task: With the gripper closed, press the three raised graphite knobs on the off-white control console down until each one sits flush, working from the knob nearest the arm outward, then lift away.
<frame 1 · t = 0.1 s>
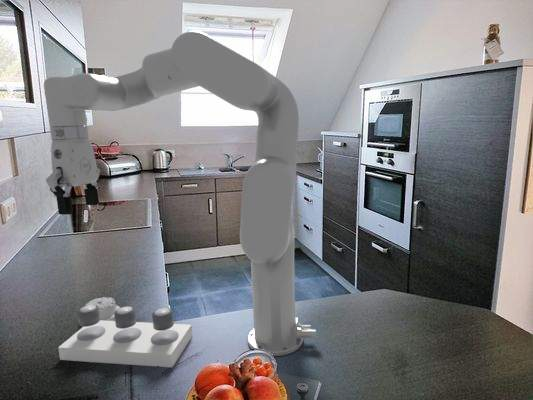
hand: (80, 209, 89), 31 cm above the countertop, tool pointing down, fingers open, 9 cm apart
console: (129, 347, 87), on the countertop
knob far: (88, 315, 88), point 8 cm above the countertop, slide at 2.5 cm
knob near: (162, 318, 85), point 8 cm above the countertop, slide at 2.5 cm
knob middle: (125, 316, 86), point 8 cm above the countertop, slide at 2.5 cm
mechanical component: (101, 318, 103), on the countertop
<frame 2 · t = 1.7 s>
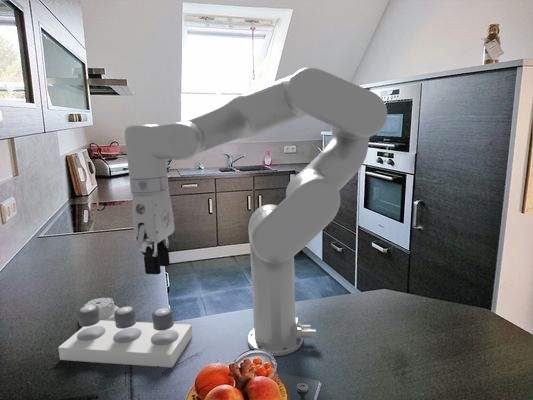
hand: (157, 268, 82), 19 cm above the countertop, tool pointing down, fingers open, 3 cm apart
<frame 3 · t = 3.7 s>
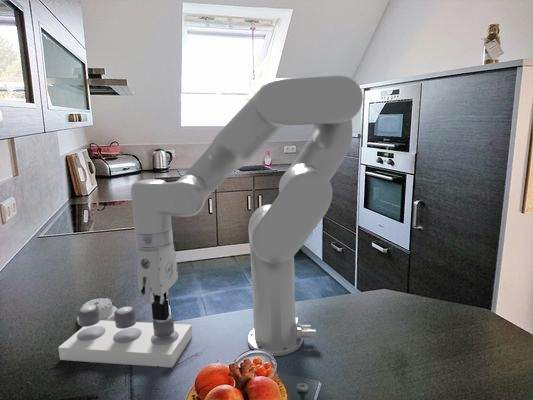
hand: (161, 317, 84), 8 cm above the countertop, tool pointing down, fingers closed
knob near: (163, 324, 85), point 6 cm above the countertop, slide at 0.9 cm, touching gripper
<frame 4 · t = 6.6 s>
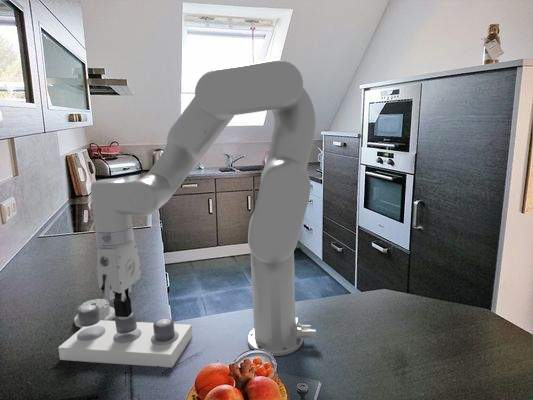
hand: (123, 314, 86), 8 cm above the countertop, tool pointing down, fingers closed
knob near: (164, 329, 85), point 5 cm above the countertop, slide at -0.1 cm
knob middle: (125, 321, 86), point 6 cm above the countertop, slide at 1.3 cm, touching gripper
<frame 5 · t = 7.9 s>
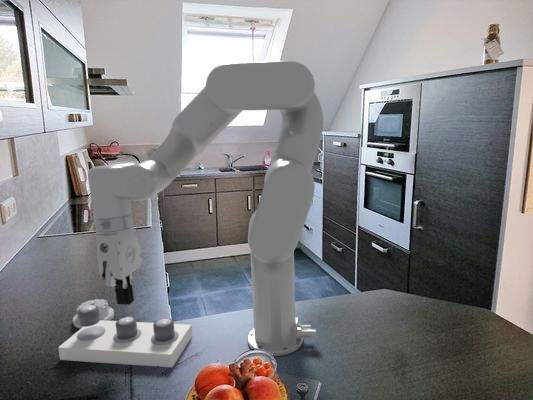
hand: (125, 302, 85), 11 cm above the countertop, tool pointing down, fingers closed
knob middle: (126, 327, 87), point 5 cm above the countertop, slide at -0.1 cm
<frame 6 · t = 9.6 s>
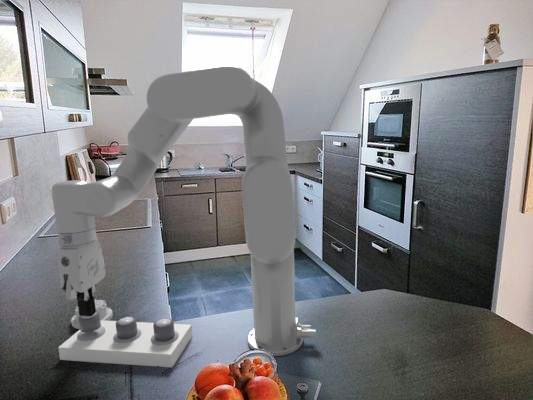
hand: (87, 314, 87), 8 cm above the countertop, tool pointing down, fingers closed
knob far: (89, 320, 88), point 6 cm above the countertop, slide at 1.1 cm, touching gripper
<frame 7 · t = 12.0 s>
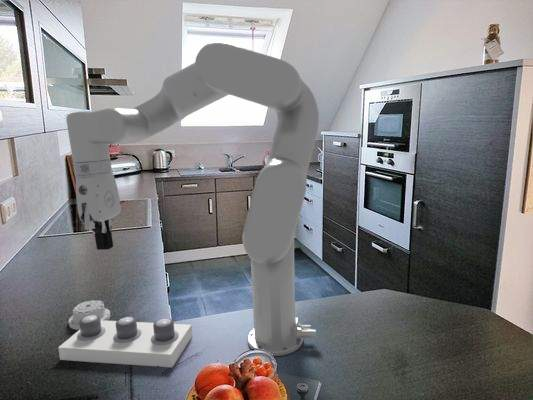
hand: (105, 248, 88), 22 cm above the countertop, tool pointing down, fingers closed
knob far: (90, 325, 88), point 5 cm above the countertop, slide at -0.1 cm
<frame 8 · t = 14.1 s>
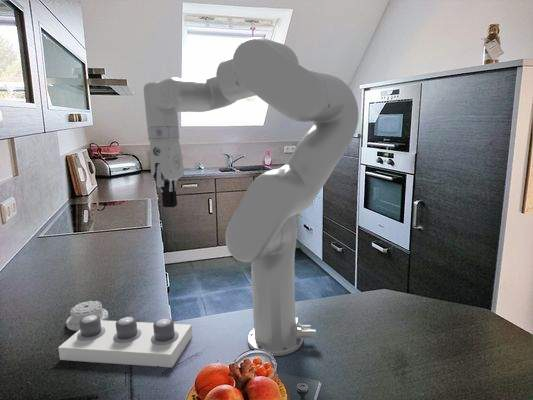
hand: (170, 206, 98), 29 cm above the countertop, tool pointing down, fingers closed
at the end: knob near slide at -0.1 cm; knob middle slide at -0.1 cm; knob far slide at -0.1 cm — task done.
